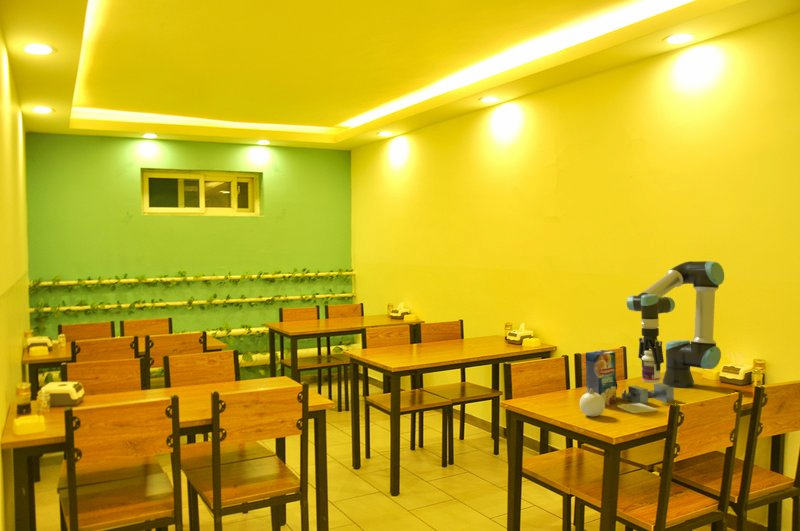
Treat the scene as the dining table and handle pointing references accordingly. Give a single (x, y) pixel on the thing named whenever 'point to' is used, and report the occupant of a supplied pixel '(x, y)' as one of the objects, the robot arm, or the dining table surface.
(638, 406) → the trivet
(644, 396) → the vise
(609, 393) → the cereal box
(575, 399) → the dining table surface
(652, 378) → the pill bottle
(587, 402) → the ornament
